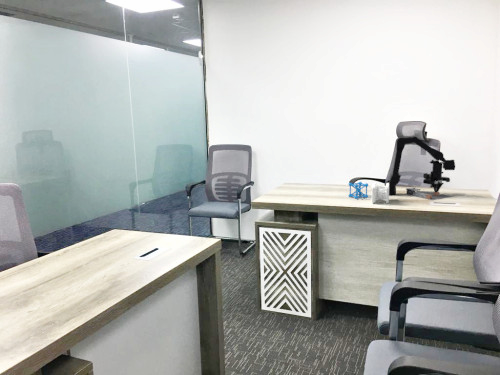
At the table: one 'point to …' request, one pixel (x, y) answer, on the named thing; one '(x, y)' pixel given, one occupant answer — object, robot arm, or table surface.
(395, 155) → the robot arm
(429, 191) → the tong arm
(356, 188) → the molecular structure
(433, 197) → the desk mat
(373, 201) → the cable organizer
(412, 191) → the tong base
